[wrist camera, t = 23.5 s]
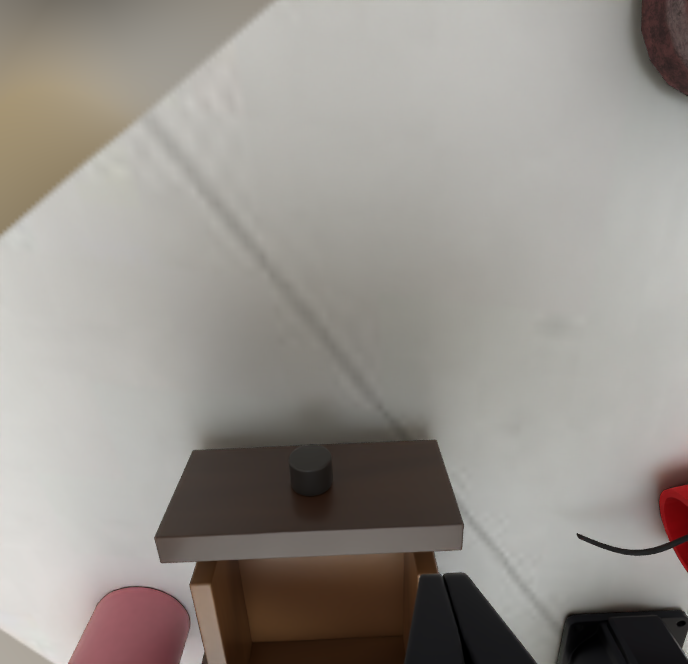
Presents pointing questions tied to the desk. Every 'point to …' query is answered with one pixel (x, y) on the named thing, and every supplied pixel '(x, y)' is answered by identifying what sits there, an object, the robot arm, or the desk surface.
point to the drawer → (310, 547)
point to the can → (667, 39)
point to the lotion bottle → (134, 629)
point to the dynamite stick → (665, 526)
